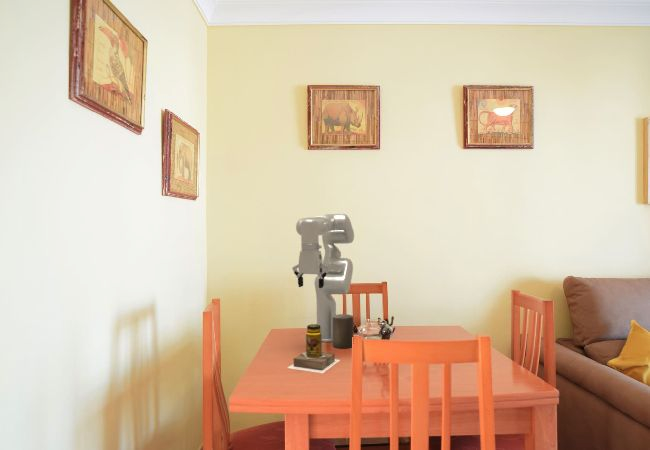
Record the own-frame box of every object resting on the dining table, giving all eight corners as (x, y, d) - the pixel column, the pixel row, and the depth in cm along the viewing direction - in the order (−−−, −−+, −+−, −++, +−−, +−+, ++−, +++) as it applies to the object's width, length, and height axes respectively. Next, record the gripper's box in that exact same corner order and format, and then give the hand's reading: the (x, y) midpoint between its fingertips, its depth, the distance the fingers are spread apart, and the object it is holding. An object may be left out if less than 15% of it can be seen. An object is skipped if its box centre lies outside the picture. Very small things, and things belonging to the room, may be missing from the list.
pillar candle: (354, 348, 183) (353, 315, 183) (332, 348, 183) (332, 315, 184) (353, 343, 193) (352, 311, 193) (332, 343, 193) (332, 311, 193)
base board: (307, 357, 170) (307, 355, 170) (340, 361, 164) (340, 359, 164) (287, 369, 155) (287, 367, 155) (322, 375, 149) (322, 373, 149)
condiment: (308, 359, 155) (307, 328, 155) (301, 353, 163) (301, 323, 163) (326, 357, 158) (325, 326, 158) (318, 351, 166) (318, 321, 166)
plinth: (307, 357, 167) (307, 350, 168) (334, 361, 162) (334, 353, 163) (293, 366, 157) (293, 358, 157) (321, 370, 152) (321, 362, 152)
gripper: (331, 247, 176) (332, 286, 177) (296, 246, 183) (297, 284, 184) (324, 248, 170) (325, 289, 170) (288, 248, 176) (289, 287, 177)
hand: (310, 287), depth 177 cm, fingers open, 9 cm apart
